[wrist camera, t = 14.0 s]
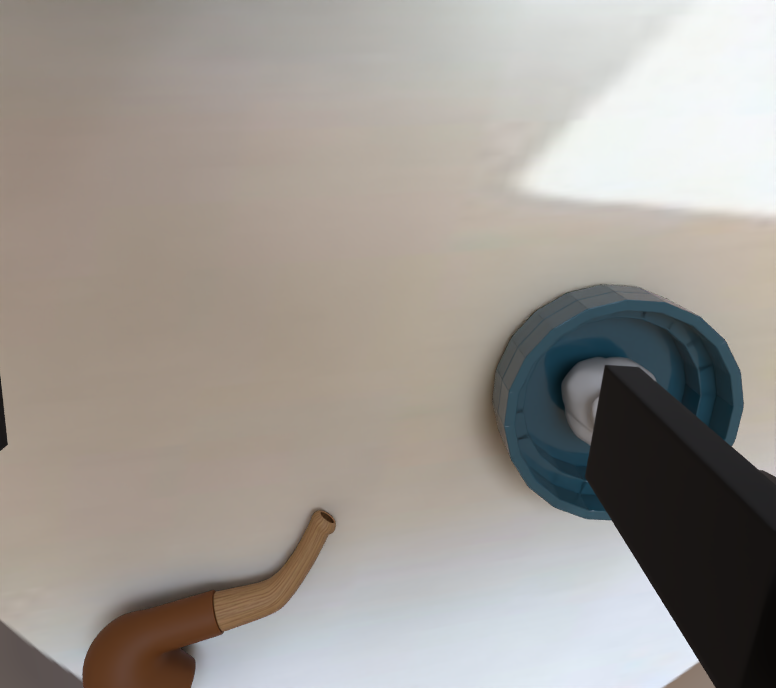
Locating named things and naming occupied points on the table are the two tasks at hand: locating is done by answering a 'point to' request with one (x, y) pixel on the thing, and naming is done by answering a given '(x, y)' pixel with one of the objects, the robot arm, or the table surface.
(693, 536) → the robot arm
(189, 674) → the pipe
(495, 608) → the table surface
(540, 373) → the bowl
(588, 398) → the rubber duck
